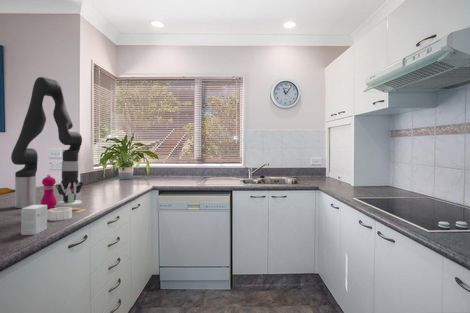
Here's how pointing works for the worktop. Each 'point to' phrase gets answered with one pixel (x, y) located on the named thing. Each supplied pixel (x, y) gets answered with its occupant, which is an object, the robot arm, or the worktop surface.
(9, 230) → the worktop surface
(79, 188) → the robot arm
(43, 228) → the small box
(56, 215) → the bowl
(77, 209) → the plate
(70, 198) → the lid
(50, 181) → the pepper mill
